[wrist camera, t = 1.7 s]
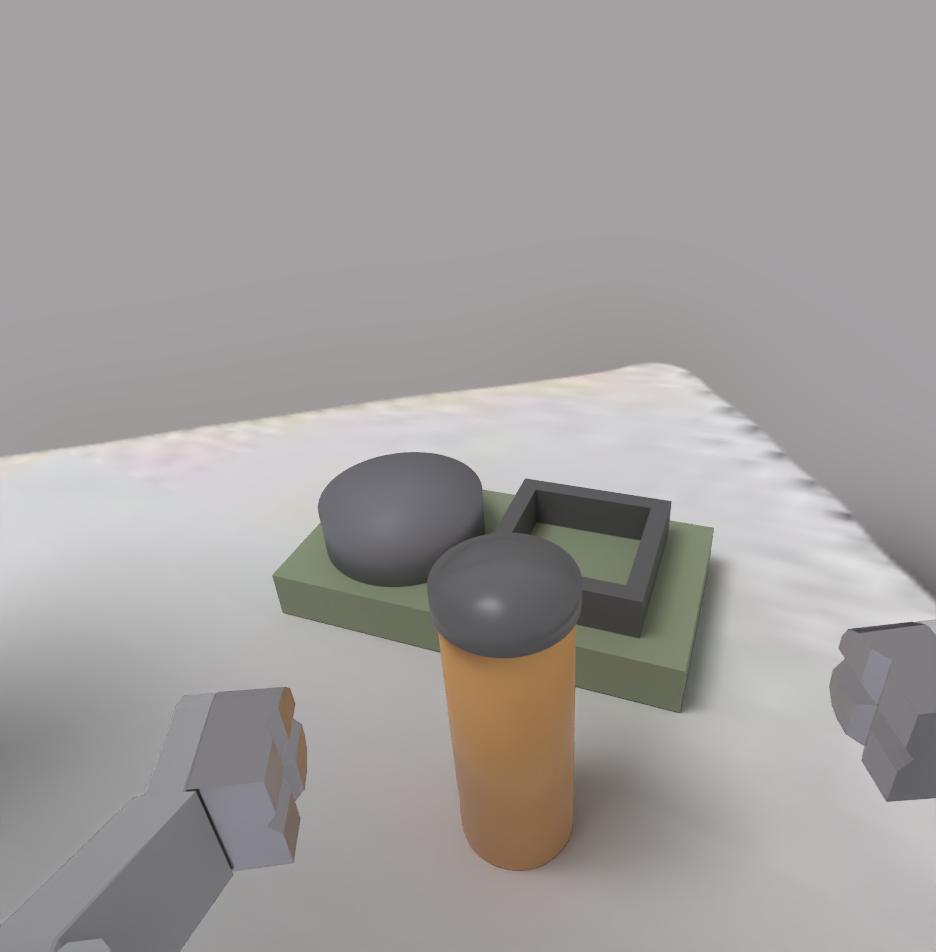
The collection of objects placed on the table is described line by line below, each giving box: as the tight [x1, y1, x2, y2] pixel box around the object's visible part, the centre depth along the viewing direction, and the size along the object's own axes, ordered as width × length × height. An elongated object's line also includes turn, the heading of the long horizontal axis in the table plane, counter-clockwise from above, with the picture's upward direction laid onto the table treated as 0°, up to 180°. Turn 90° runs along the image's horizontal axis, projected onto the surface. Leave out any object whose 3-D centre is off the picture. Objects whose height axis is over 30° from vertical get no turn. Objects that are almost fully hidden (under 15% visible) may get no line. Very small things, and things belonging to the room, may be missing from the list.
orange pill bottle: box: [427, 533, 582, 870], centre depth 29 cm, size 5×5×14 cm
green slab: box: [272, 452, 714, 713], centre depth 44 cm, size 24×12×6 cm, turn 68°
